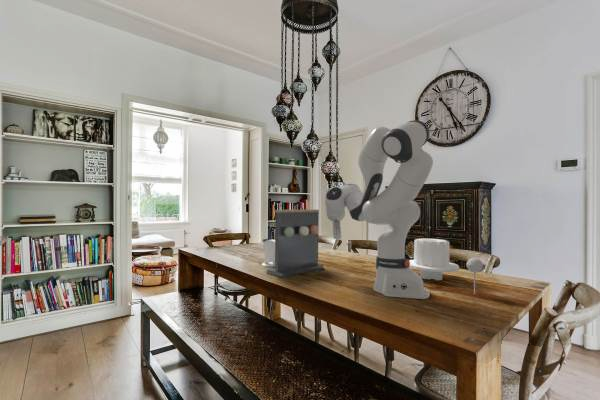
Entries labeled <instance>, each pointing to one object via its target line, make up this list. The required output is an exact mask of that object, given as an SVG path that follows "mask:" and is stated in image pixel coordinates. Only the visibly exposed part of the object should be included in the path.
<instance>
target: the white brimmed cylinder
mask: <svg viewBox="0 0 600 400" xmlns="http://www.w3.org/2000/svg"><path fill="white" fill-rule="evenodd" d="M450 245H451V244H450V241H449V240H447V239H442V238H441V239H440V238H439V239H438V238H416V239H414V241H413V259H409V261H410V266H409V268H411V269H412V270H418V271H419V276H420V277H421V278H423V279H422V280H430V279H435V280H434V281H439V280H442V281H443V273H451V272H453V273H454V272H459V270H460V266H459V264H456V263H454V262H450V257H451V256H450V254H451V253H450V251H451V249H450Z"/></svg>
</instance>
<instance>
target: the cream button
mask: <svg viewBox="0 0 600 400" xmlns="http://www.w3.org/2000/svg"><path fill="white" fill-rule="evenodd" d="M308 233H309V229H308V227H306V226H301V227H300V228H299V234H300V235H305V236H306V235H308Z"/></svg>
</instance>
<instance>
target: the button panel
mask: <svg viewBox="0 0 600 400" xmlns="http://www.w3.org/2000/svg"><path fill="white" fill-rule="evenodd" d="M319 212H320V210H319V209H275V221H274V223H275V225H274V226H275V229H274V230H275V231H274V232H275V234H274V235H275V236H274V237H275V238H274V240H275V267H273V268H268V269H266V274H267V275H271V276H276V277H278V278H287V277H291V276H295V275H299V274H304V273H308V272H312V271H316V270H317V271H318V270H320V269H321V270H322V269H324V263H323V264H322V263H319V232H318V233H317V234H311V233H310V232H309V233H308V235H306V236H305V235H300V234H299V228H300V227H301V226H306V227H308V229H309V228H310V226H311V225H316V226H318V228H319V223H320V222H319V221H320V220H319V219H320V218H319V217H320V216H319ZM285 227H292V228H293V229H294V235H293V236H292V237H288V236H285V235H284V233H283V231H284V228H285ZM319 229H320V228H319Z"/></svg>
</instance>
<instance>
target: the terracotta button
mask: <svg viewBox="0 0 600 400" xmlns="http://www.w3.org/2000/svg"><path fill="white" fill-rule="evenodd" d="M319 231H320V228H318V226H316V225H311V226H310V228H309V232H310V233H311V234H317V233H318V234H319Z"/></svg>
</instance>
